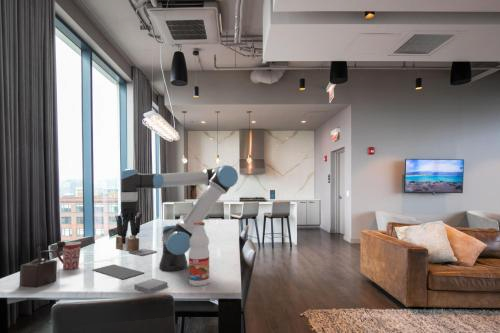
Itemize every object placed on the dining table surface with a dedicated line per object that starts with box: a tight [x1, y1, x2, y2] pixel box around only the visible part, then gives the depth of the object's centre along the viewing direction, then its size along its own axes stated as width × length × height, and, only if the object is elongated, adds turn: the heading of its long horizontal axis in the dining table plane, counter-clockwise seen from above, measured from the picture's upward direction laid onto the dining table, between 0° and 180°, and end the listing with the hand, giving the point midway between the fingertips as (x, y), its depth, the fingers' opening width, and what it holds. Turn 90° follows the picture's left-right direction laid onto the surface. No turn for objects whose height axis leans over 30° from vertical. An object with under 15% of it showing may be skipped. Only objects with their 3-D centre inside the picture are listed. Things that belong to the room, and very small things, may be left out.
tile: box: [134, 278, 168, 294], centre depth 131 cm, size 10×2×10 cm
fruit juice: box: [188, 221, 210, 287], centre depth 137 cm, size 9×9×28 cm
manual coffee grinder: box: [18, 240, 67, 288], centre depth 140 cm, size 16×11×18 cm
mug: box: [55, 241, 82, 271], centre depth 162 cm, size 13×9×14 cm
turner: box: [115, 235, 158, 257], centre depth 140 cm, size 24×8×6 cm, turn 57°
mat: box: [92, 263, 145, 281], centre depth 154 cm, size 12×28×1 cm, turn 56°
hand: (128, 249), depth 142 cm, fingers closed on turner, 3 cm apart
